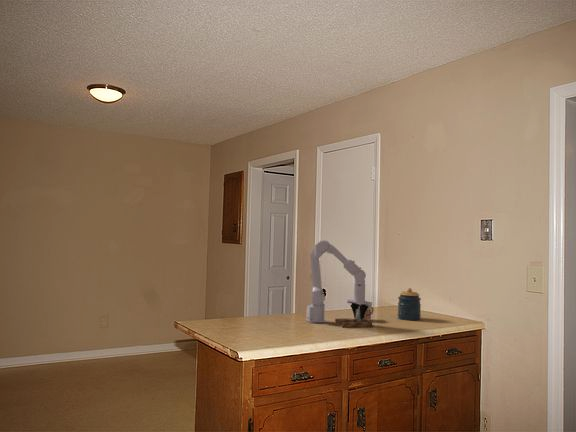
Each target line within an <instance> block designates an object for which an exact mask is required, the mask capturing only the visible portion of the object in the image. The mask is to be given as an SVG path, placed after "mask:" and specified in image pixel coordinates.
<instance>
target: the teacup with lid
mask: <svg viewBox="0 0 576 432" xmlns="http://www.w3.org/2000/svg"><path fill="white" fill-rule="evenodd" d="M359 304H362V303H359ZM359 306H361V305H359ZM359 308H360V307H359ZM374 311H375V310H374V307H373V305H372V306H368V309H367V310H366V313H365V316H364V319H366V320H368V321H371V319H372V315H373V314H374Z"/></svg>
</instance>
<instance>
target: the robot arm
mask: <svg viewBox="0 0 576 432" xmlns="http://www.w3.org/2000/svg"><path fill="white" fill-rule="evenodd" d="M325 253H327V254H331V255H333V256H334V257H335V258H337V260H339V262H341V263H342V264H343V268H344V269H345V270H346V271H347V272H348V273H349V274H350V275H351V276H353V278H354V289H353V290H354V293H353V299H350V298H349V299H346V301H347V304H350V305H349V306H350V308H351V310H352V314H353V318H356V309H357V308H359V307H360V318H361V319H364V316H365V313H366V310H367V309H368V306H372V307H373V302H371V301H366V272H365V270H363V269H362V267H360V266H358V265H357V264H356V261H355V260H353V259H347V257H345V256H344V254H343V253H342V252H341V251H340V250H338V248H337V247H335V245H333V244H332V243H330V242H329V240H326V239H325V240H319V241H318V242H316V244H314V247H313V249H312V251H311V252H310V255H309V259H310V268H311V271H310V272H311V282H312V291H311V292H312V293H311V297H310V301H311V304H310V305H309V304H308V305H307V306H306V312H305V313H306V316H305V317H306V318H305V320H306V321H307V322H308V323H311V324H312V323H313V324H315V323H318V324H319V323H327V321H326V320H325V306H326V305H325V303H324V302H325V300H326V296H325V294H324V291H323V287H322V286H323V285H322V277H321V276H322V275H321V264H320V263H321V262H320V258H321V257H322V256H323V255H324V254H325ZM359 303H362V304H359ZM359 305H361V306H359Z"/></svg>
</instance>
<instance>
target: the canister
mask: <svg viewBox="0 0 576 432" xmlns="http://www.w3.org/2000/svg"><path fill="white" fill-rule="evenodd" d="M397 299H398V303H397V318H398V319H399V320H405V321H419V320H421V316H422V315H421V307H422V304H421V300H422V298H421V297H420V294H419V293H418V292H417V291H413V289H412V288H411V287H409V288H407V291H405V290H404V291H401V292H400V293H399V296H398V297H397Z"/></svg>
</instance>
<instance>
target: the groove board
mask: <svg viewBox="0 0 576 432" xmlns="http://www.w3.org/2000/svg"><path fill="white" fill-rule="evenodd" d="M334 324H335V325H338V326H339V327H341V328H351V329H352V328H373V321H371V320H370V321H368V320H366V319H362V322H356V318H354V317H353V318H343V317H342V318H334Z"/></svg>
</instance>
